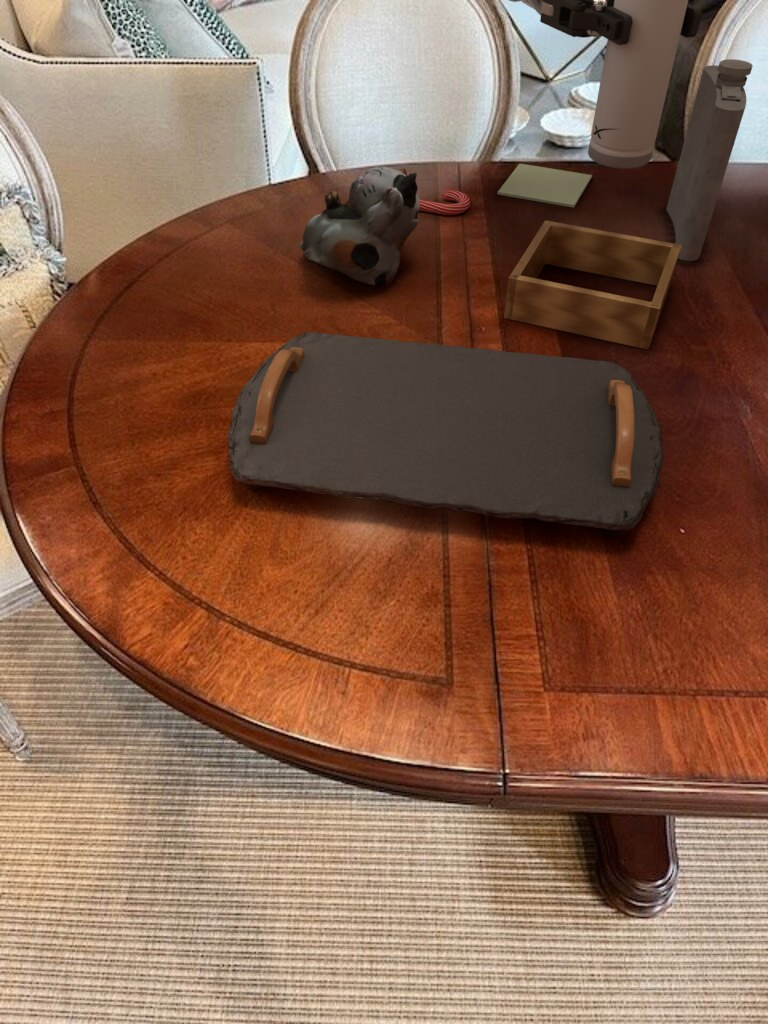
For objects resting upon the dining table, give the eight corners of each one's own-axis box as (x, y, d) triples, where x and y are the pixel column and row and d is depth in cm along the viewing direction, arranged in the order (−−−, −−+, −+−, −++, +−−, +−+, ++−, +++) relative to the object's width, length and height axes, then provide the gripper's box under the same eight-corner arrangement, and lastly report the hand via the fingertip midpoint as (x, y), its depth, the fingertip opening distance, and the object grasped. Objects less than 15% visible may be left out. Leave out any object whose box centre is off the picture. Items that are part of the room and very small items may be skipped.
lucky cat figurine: (299, 242, 100) (340, 131, 94) (385, 280, 103) (431, 175, 97) (291, 265, 87) (338, 139, 81) (390, 308, 90) (442, 188, 84)
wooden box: (670, 284, 93) (681, 244, 89) (648, 350, 83) (659, 308, 80) (539, 258, 97) (545, 220, 94) (503, 318, 88) (508, 277, 84)
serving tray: (648, 388, 78) (663, 335, 74) (664, 560, 62) (686, 504, 58) (274, 350, 83) (268, 297, 79) (201, 500, 67) (188, 445, 63)
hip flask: (665, 205, 108) (708, 41, 94) (696, 207, 108) (743, 43, 93) (673, 259, 97) (723, 83, 83) (707, 262, 97) (763, 86, 82)
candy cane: (376, 186, 113) (376, 175, 112) (475, 202, 109) (476, 191, 108) (359, 202, 109) (359, 191, 108) (461, 219, 105) (462, 208, 104)
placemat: (591, 177, 115) (592, 175, 114) (573, 207, 107) (574, 205, 107) (519, 165, 118) (519, 163, 117) (497, 194, 111) (497, 191, 110)
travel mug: (585, 168, 77) (629, -84, 63) (589, 142, 82) (631, -99, 67) (650, 173, 76) (711, -82, 62) (651, 147, 80) (707, -96, 66)
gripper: (512, -56, 76) (596, -16, 64) (644, -66, 79) (746, -30, 67) (504, 33, 81) (581, 83, 70) (628, 20, 84) (720, 66, 73)
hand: (661, 28), depth 69 cm, fingers closed on travel mug, 6 cm apart
